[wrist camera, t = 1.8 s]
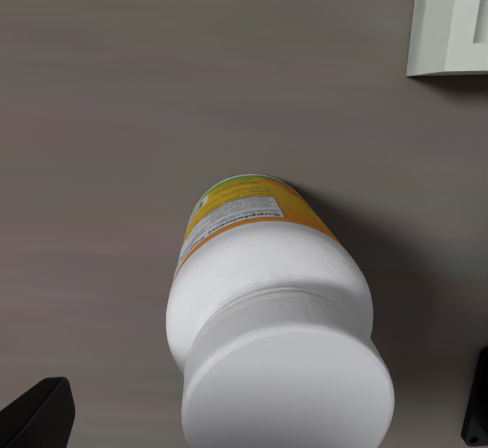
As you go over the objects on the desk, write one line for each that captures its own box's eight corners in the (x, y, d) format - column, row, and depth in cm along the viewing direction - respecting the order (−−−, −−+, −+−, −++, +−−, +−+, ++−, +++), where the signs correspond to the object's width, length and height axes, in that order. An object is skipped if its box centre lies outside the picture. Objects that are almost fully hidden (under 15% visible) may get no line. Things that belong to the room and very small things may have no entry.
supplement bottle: (322, 266, 16) (451, 477, 7) (211, 300, 17) (201, 547, 7) (293, 154, 15) (415, 246, 5) (169, 194, 15) (86, 346, 6)
